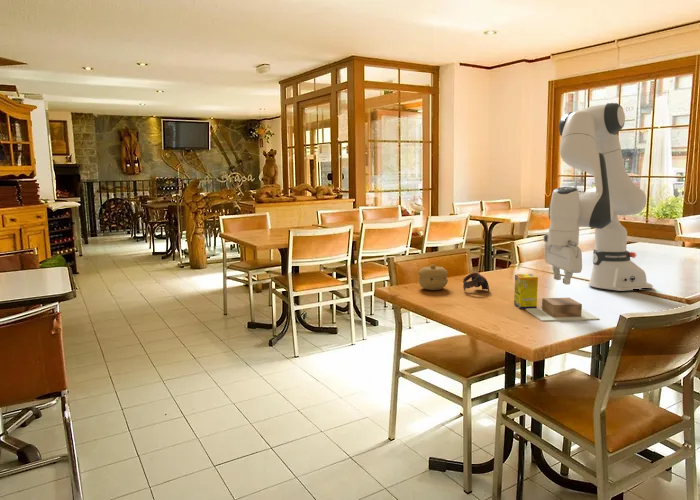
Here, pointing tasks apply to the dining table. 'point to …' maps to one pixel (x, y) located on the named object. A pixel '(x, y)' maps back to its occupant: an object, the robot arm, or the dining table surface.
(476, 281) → the brown ceramic rounded piece
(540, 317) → the mat
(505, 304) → the dining table surface
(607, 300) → the dining table surface
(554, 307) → the walnut slab
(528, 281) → the supplement box
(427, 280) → the pot
